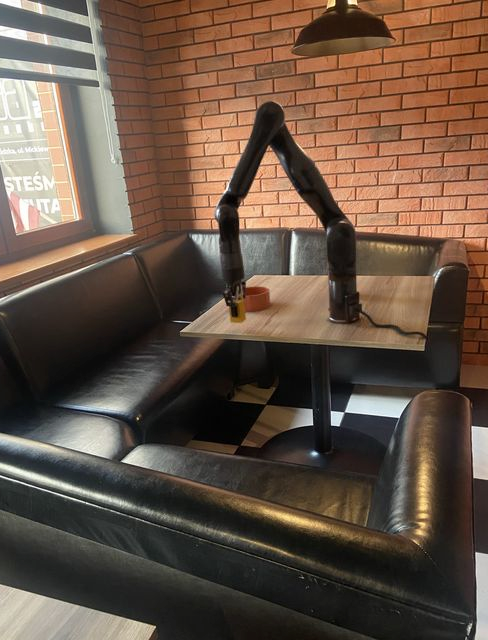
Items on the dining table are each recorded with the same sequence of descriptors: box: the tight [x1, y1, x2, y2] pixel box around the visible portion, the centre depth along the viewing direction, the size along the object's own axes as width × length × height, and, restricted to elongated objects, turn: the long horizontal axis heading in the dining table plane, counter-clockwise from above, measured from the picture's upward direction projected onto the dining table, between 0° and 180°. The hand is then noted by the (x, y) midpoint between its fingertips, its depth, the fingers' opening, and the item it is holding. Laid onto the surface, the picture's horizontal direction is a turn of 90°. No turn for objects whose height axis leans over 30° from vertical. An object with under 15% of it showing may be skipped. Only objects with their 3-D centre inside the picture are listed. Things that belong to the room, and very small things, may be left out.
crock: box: [232, 285, 271, 313], centre depth 208 cm, size 14×14×6 cm
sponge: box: [228, 300, 247, 324], centre depth 182 cm, size 4×4×7 cm
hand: (237, 314), depth 183 cm, fingers closed on sponge, 4 cm apart
